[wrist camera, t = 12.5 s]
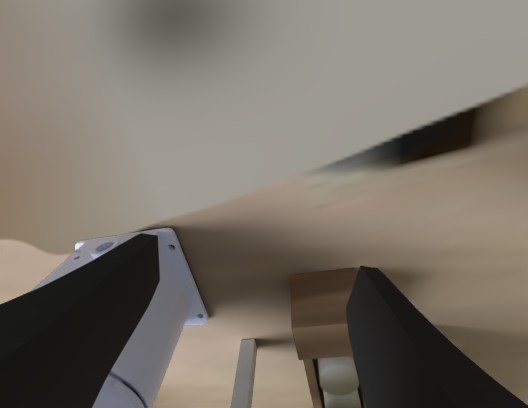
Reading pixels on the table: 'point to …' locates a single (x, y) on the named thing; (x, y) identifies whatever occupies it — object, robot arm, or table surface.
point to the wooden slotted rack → (326, 337)
